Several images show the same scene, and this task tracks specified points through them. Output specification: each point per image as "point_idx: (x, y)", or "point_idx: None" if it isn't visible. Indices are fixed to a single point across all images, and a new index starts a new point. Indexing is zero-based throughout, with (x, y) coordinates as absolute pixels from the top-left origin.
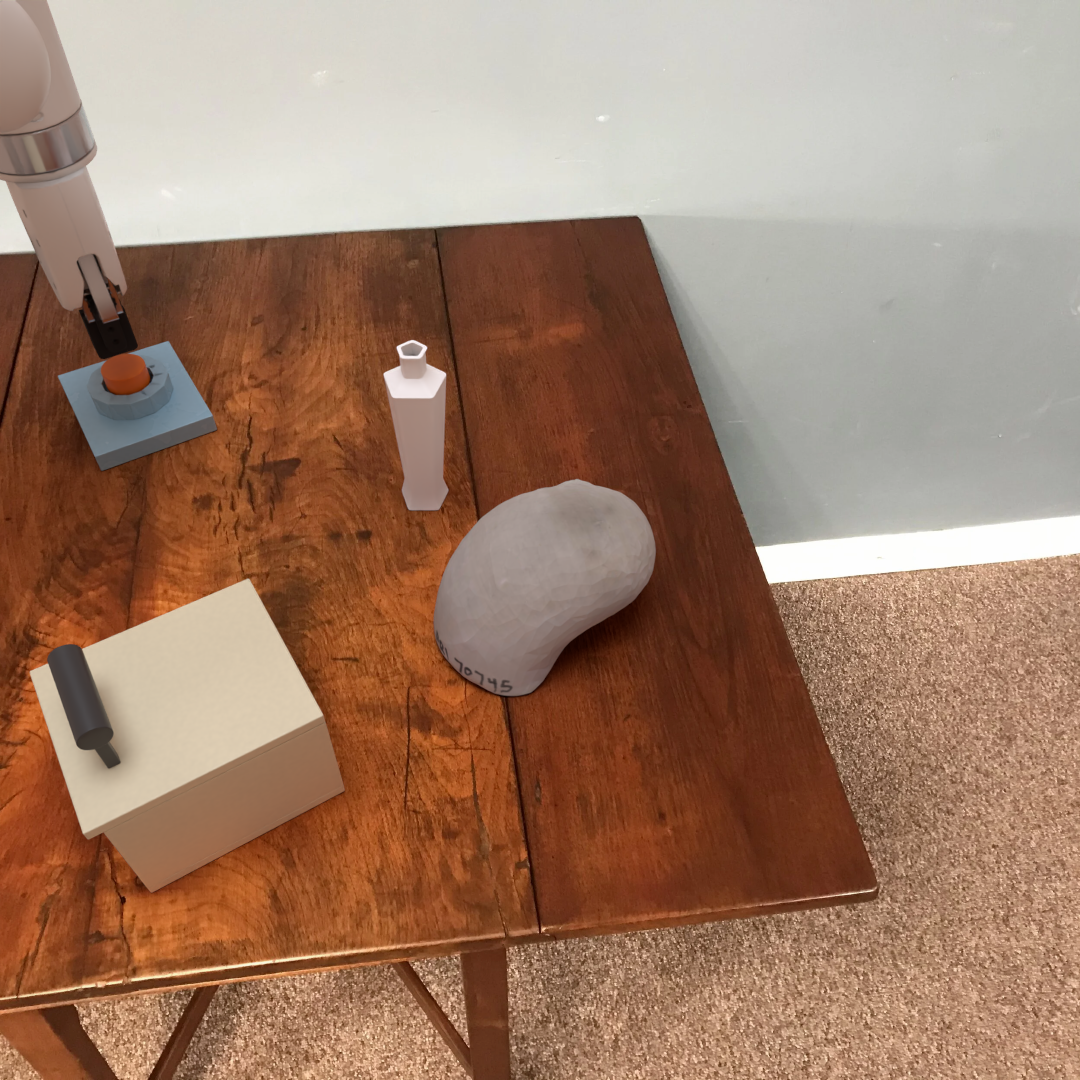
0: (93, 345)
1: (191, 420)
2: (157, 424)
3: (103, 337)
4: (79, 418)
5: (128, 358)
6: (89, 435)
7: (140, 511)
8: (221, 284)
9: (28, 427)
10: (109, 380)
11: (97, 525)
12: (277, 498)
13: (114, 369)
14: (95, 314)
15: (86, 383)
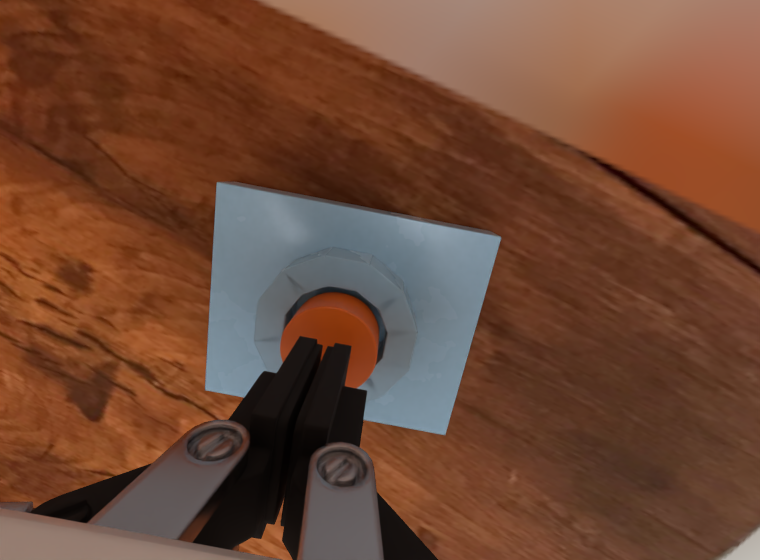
0: (332, 350)
1: (212, 359)
2: (237, 312)
3: (245, 398)
4: (343, 210)
5: (347, 374)
6: (280, 202)
7: (104, 187)
8: (553, 550)
9: (437, 127)
10: (305, 309)
11: (107, 111)
12: (32, 358)
13: (329, 335)
14: (44, 504)
15: (435, 269)
